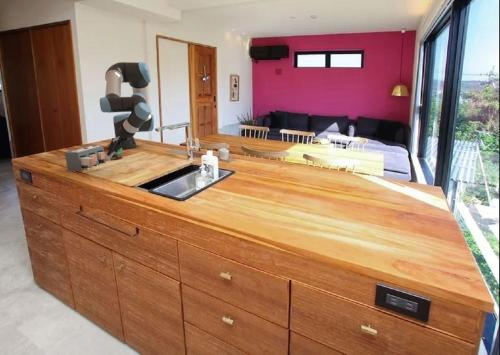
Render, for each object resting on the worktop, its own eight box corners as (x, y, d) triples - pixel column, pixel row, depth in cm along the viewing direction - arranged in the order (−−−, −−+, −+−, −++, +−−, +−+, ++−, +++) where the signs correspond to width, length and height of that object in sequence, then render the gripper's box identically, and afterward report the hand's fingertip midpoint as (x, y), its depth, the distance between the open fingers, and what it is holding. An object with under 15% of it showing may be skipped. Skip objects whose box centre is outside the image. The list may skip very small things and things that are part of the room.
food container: (119, 161, 195) (117, 144, 192) (109, 161, 196) (107, 144, 193) (127, 156, 207) (125, 140, 204) (117, 156, 207) (115, 140, 204)
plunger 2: (105, 158, 189) (104, 152, 188) (101, 159, 185) (100, 153, 184) (94, 157, 191) (93, 151, 190) (90, 158, 187) (89, 152, 186)
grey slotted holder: (105, 162, 191) (103, 145, 188) (80, 171, 174) (77, 152, 171) (93, 161, 193) (90, 144, 190) (67, 170, 176) (64, 151, 173)
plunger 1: (96, 164, 175) (95, 157, 174) (91, 165, 172) (90, 159, 171) (84, 163, 177) (83, 156, 176) (79, 165, 174) (78, 158, 173)
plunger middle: (97, 160, 183) (96, 154, 182) (92, 162, 179) (91, 155, 178) (86, 160, 185) (85, 153, 184) (81, 161, 181) (80, 155, 180)
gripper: (126, 136, 162) (102, 166, 171) (141, 132, 174) (119, 160, 183) (115, 124, 162) (92, 156, 171) (132, 121, 174) (110, 150, 183)
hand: (106, 158), depth 177 cm, fingers closed
